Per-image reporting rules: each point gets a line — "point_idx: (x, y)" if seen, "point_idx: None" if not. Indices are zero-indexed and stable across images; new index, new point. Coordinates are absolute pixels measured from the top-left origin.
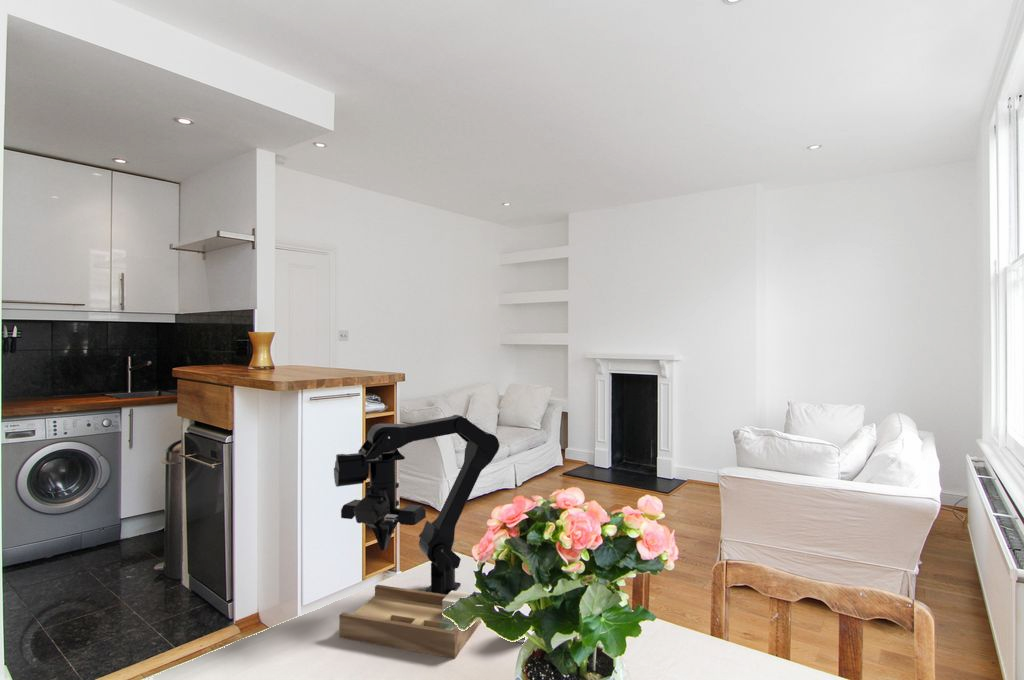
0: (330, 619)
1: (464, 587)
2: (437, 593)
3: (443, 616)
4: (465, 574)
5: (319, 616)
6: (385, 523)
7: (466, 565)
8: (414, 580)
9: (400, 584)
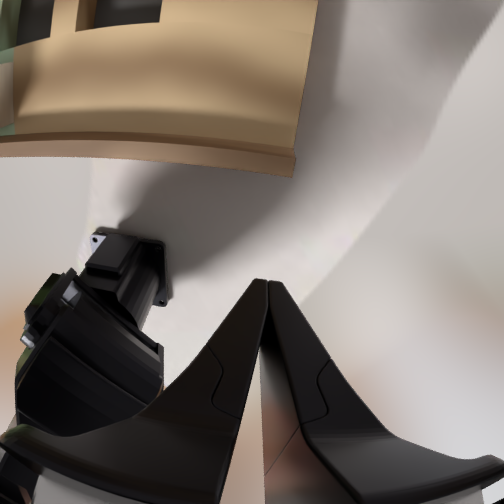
0: (405, 52)
1: None
2: (40, 156)
3: (4, 63)
4: None
5: (444, 73)
6: (101, 493)
7: None
8: None
9: None
